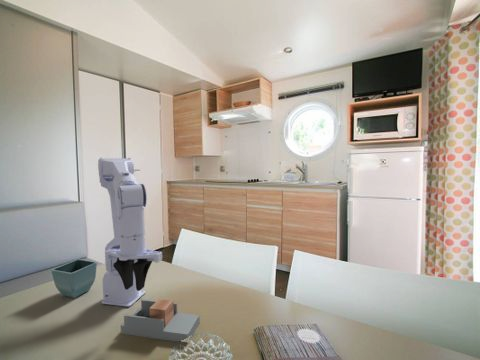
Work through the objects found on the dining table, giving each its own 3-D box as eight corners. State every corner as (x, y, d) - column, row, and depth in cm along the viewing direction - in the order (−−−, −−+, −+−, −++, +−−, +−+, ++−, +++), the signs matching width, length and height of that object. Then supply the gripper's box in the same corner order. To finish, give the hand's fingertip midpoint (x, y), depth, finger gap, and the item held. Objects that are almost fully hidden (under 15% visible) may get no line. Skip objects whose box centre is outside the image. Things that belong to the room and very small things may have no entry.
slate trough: (121, 333, 57) (120, 315, 57) (139, 315, 64) (138, 299, 63) (187, 343, 53) (187, 323, 53) (199, 323, 60) (199, 305, 60)
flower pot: (72, 303, 70) (71, 273, 70) (52, 298, 73) (50, 269, 73) (99, 288, 79) (97, 261, 78) (79, 284, 81) (78, 258, 81)
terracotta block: (150, 324, 57) (149, 308, 56) (159, 314, 61) (158, 299, 60) (165, 326, 56) (164, 310, 56) (173, 316, 60) (173, 300, 60)
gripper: (94, 237, 56) (97, 293, 57) (149, 240, 53) (151, 299, 54) (115, 229, 63) (117, 280, 64) (165, 231, 60) (167, 284, 61)
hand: (134, 288), depth 59 cm, fingers open, 3 cm apart
